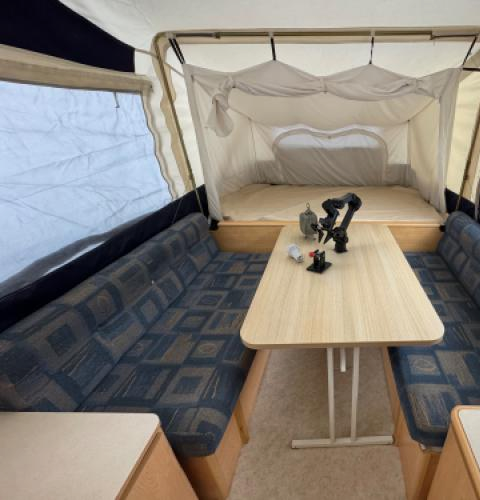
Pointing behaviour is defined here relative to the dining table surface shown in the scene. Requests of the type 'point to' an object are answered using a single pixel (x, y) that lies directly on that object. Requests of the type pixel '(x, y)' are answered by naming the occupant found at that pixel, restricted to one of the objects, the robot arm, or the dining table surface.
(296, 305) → the dining table surface
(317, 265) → the switch bracket
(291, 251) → the spotlight
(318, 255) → the switch lever
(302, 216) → the grey lantern
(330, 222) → the robot arm
